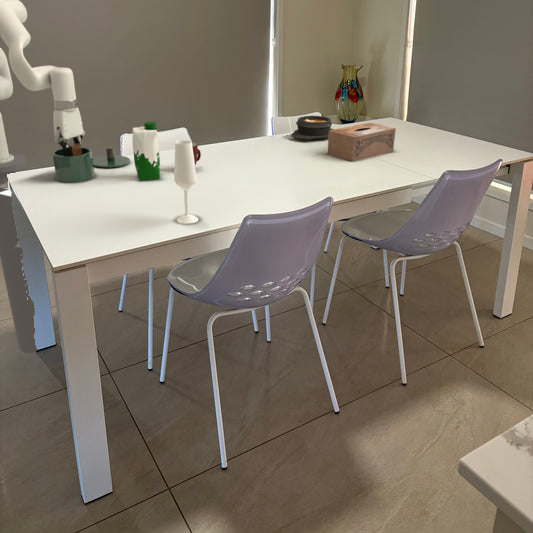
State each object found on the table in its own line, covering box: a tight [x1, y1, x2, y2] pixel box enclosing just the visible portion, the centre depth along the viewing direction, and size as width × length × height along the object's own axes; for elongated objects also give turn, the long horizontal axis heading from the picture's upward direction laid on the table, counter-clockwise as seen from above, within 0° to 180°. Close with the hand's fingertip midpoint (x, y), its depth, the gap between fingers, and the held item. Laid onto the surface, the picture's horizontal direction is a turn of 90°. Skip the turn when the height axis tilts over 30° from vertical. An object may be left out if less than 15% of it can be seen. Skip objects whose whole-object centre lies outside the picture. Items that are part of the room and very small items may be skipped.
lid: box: [93, 146, 131, 168], centre depth 232 cm, size 15×15×6 cm
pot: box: [52, 146, 96, 184], centre depth 216 cm, size 14×14×10 cm
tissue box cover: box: [327, 121, 396, 162], centre depth 250 cm, size 26×14×10 cm, turn 130°
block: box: [69, 141, 82, 156], centre depth 213 cm, size 4×4×4 cm
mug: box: [191, 141, 202, 166], centre depth 226 cm, size 10×8×10 cm
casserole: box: [290, 115, 335, 140], centre depth 275 cm, size 25×19×8 cm
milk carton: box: [132, 121, 161, 182], centre depth 214 cm, size 9×9×20 cm
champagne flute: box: [173, 139, 199, 225], centre depth 175 cm, size 7×7×24 cm
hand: (73, 155), depth 214 cm, fingers closed on block, 4 cm apart
